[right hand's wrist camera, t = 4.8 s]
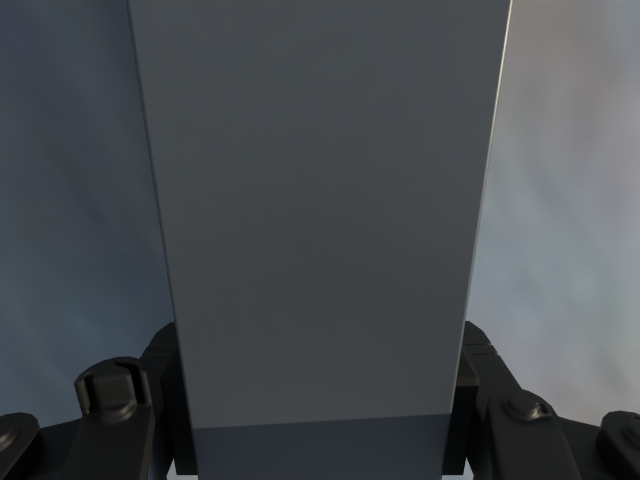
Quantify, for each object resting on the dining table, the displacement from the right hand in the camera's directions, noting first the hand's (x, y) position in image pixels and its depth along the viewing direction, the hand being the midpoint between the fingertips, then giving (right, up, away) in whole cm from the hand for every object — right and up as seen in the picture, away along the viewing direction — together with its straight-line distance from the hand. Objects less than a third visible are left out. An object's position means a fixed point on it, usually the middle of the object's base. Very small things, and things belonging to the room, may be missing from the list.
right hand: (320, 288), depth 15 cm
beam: (0, +21, -8) cm, 23 cm away
